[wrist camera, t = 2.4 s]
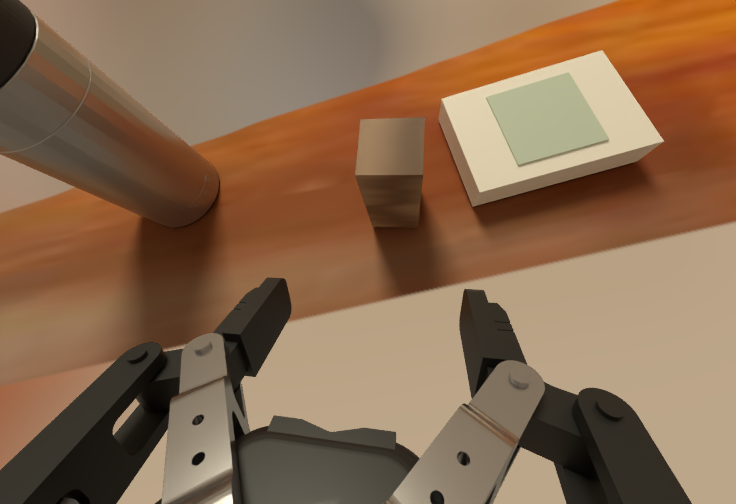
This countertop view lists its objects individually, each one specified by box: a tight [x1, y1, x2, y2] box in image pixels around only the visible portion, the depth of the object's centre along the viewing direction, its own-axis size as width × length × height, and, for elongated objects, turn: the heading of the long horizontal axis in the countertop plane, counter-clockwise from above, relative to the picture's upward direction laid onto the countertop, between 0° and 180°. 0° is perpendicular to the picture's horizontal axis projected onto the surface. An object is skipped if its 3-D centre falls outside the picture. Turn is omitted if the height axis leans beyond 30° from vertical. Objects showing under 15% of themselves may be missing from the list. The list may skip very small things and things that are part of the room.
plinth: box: [439, 50, 663, 207], centre depth 28 cm, size 16×11×3 cm
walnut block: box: [355, 117, 425, 228], centre depth 24 cm, size 5×5×10 cm
